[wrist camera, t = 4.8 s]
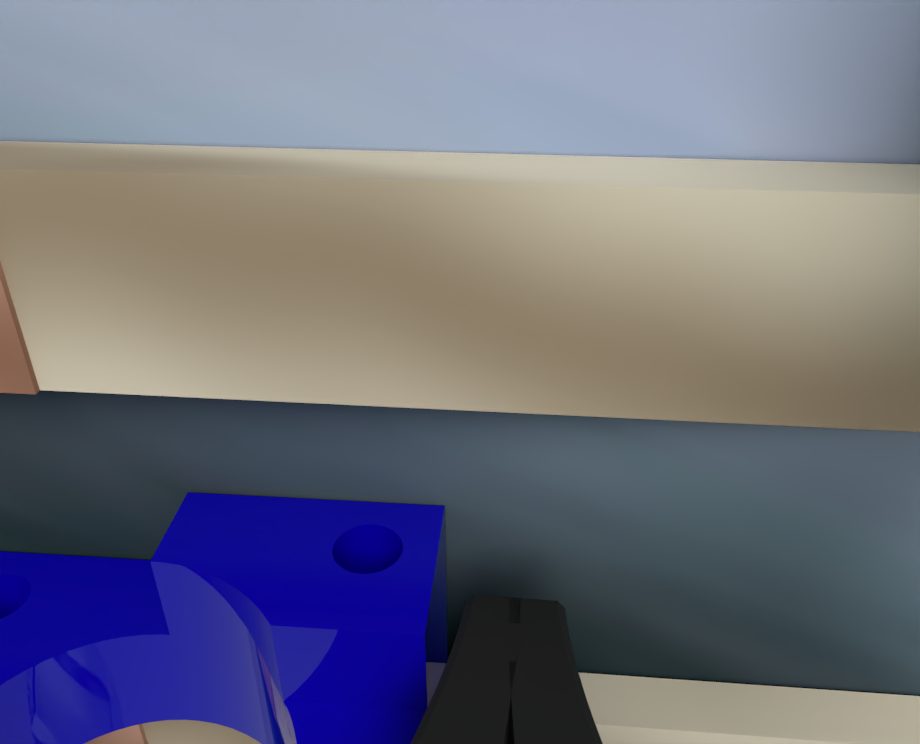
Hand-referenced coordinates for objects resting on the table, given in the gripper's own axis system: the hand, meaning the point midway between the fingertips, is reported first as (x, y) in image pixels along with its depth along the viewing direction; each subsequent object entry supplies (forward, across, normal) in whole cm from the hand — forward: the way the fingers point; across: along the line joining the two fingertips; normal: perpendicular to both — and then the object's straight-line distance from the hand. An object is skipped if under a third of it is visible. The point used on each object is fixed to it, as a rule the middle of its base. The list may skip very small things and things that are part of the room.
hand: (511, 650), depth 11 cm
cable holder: (+2, +5, +1) cm, 6 cm away
